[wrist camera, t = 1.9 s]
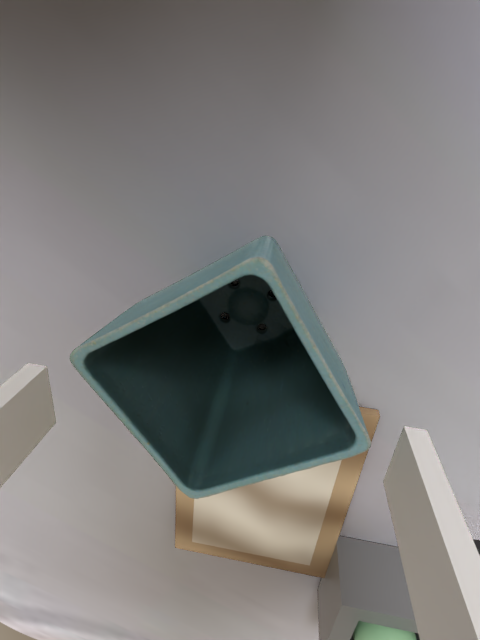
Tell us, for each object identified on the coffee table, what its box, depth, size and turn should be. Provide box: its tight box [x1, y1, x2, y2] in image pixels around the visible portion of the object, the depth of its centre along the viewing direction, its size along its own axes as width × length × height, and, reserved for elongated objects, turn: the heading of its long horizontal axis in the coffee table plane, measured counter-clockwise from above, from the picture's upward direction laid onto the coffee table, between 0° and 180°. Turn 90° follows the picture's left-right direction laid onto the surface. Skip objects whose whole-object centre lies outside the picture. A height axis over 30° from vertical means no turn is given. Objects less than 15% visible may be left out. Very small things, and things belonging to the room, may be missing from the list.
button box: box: [318, 536, 420, 640], centre depth 30 cm, size 8×8×5 cm
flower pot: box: [70, 236, 371, 499], centre depth 18 cm, size 9×9×9 cm
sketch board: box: [175, 407, 380, 578], centre depth 29 cm, size 18×13×1 cm
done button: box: [353, 621, 417, 640], centre depth 28 cm, size 4×4×5 cm
